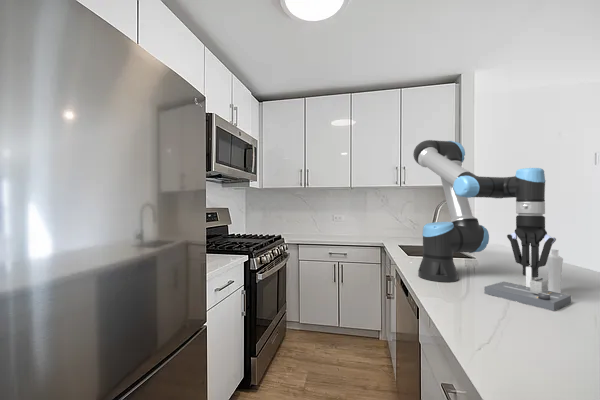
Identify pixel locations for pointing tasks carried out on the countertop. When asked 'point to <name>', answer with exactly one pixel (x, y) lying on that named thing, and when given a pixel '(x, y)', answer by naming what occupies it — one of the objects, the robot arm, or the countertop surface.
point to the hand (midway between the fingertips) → (530, 286)
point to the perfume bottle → (554, 271)
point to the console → (528, 295)
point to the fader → (538, 285)
